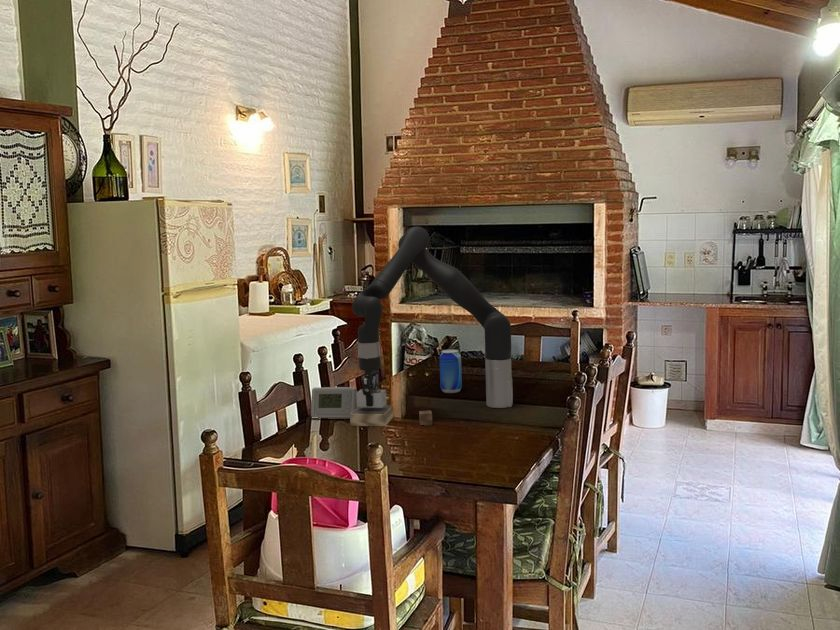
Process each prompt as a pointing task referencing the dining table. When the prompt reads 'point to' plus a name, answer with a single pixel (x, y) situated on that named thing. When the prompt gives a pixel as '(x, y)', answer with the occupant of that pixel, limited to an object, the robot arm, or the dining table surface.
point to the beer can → (450, 371)
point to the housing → (378, 398)
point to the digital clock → (333, 402)
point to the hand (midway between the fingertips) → (371, 404)
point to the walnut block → (425, 417)
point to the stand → (371, 416)
